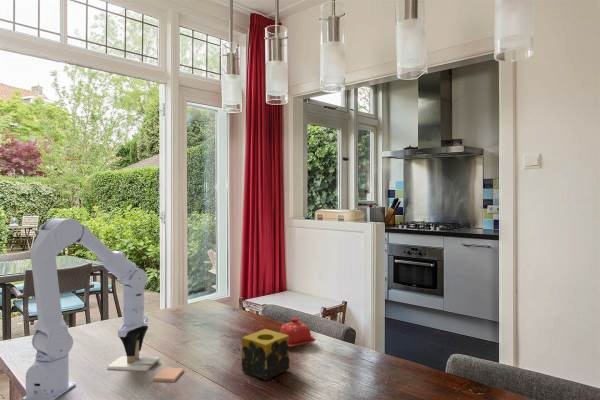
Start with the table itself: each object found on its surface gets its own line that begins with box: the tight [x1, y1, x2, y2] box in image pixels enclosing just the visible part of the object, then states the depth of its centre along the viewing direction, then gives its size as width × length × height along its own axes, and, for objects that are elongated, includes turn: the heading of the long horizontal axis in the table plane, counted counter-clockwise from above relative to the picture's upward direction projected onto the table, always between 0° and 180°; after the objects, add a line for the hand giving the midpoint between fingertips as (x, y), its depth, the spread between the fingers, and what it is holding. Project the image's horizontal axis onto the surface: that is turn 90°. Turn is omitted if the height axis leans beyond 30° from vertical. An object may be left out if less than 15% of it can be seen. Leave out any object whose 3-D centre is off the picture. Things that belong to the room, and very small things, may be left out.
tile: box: [152, 367, 185, 383], centre depth 115 cm, size 7×1×6 cm
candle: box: [241, 328, 290, 381], centre depth 119 cm, size 10×10×10 cm
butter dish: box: [279, 316, 317, 348], centre depth 143 cm, size 12×12×8 cm
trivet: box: [106, 355, 154, 372], centre depth 123 cm, size 8×12×1 cm, turn 85°
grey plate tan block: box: [126, 340, 161, 366], centre depth 123 cm, size 5×8×6 cm, turn 85°
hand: (133, 353), depth 123 cm, fingers open, 3 cm apart
